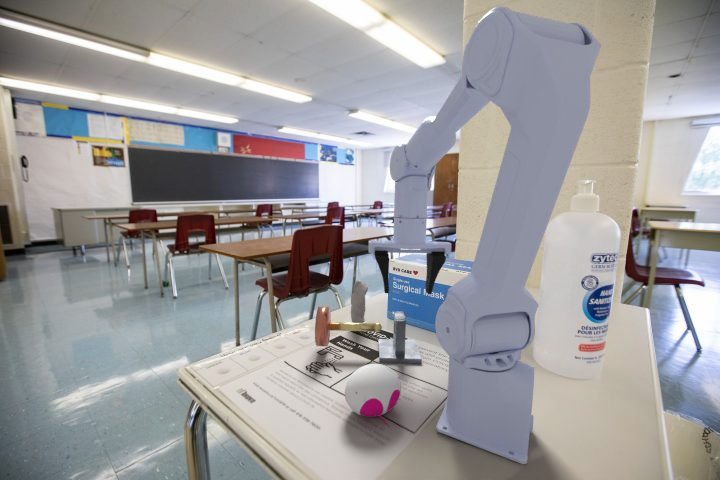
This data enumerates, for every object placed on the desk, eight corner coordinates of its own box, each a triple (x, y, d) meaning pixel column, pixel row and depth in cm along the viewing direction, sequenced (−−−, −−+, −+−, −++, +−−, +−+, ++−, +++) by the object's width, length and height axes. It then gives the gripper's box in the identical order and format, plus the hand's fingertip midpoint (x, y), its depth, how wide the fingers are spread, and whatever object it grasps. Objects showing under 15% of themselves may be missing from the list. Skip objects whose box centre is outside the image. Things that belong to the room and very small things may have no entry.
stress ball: (354, 452, 37) (369, 433, 33) (332, 388, 42) (342, 364, 38) (405, 429, 40) (424, 409, 36) (379, 372, 46) (393, 349, 41)
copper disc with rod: (380, 337, 58) (381, 302, 57) (382, 355, 51) (383, 316, 50) (321, 335, 58) (321, 301, 57) (315, 353, 52) (314, 314, 51)
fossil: (363, 332, 63) (364, 284, 62) (347, 330, 64) (347, 283, 62) (368, 321, 69) (369, 277, 67) (353, 319, 69) (353, 276, 68)
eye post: (415, 343, 58) (416, 309, 57) (421, 363, 51) (423, 324, 50) (378, 343, 58) (379, 308, 57) (379, 362, 51) (380, 323, 51)
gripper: (445, 216, 58) (441, 286, 60) (368, 215, 58) (367, 285, 60) (456, 219, 51) (452, 298, 53) (369, 217, 51) (368, 296, 53)
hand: (407, 292), depth 56 cm, fingers open, 7 cm apart
